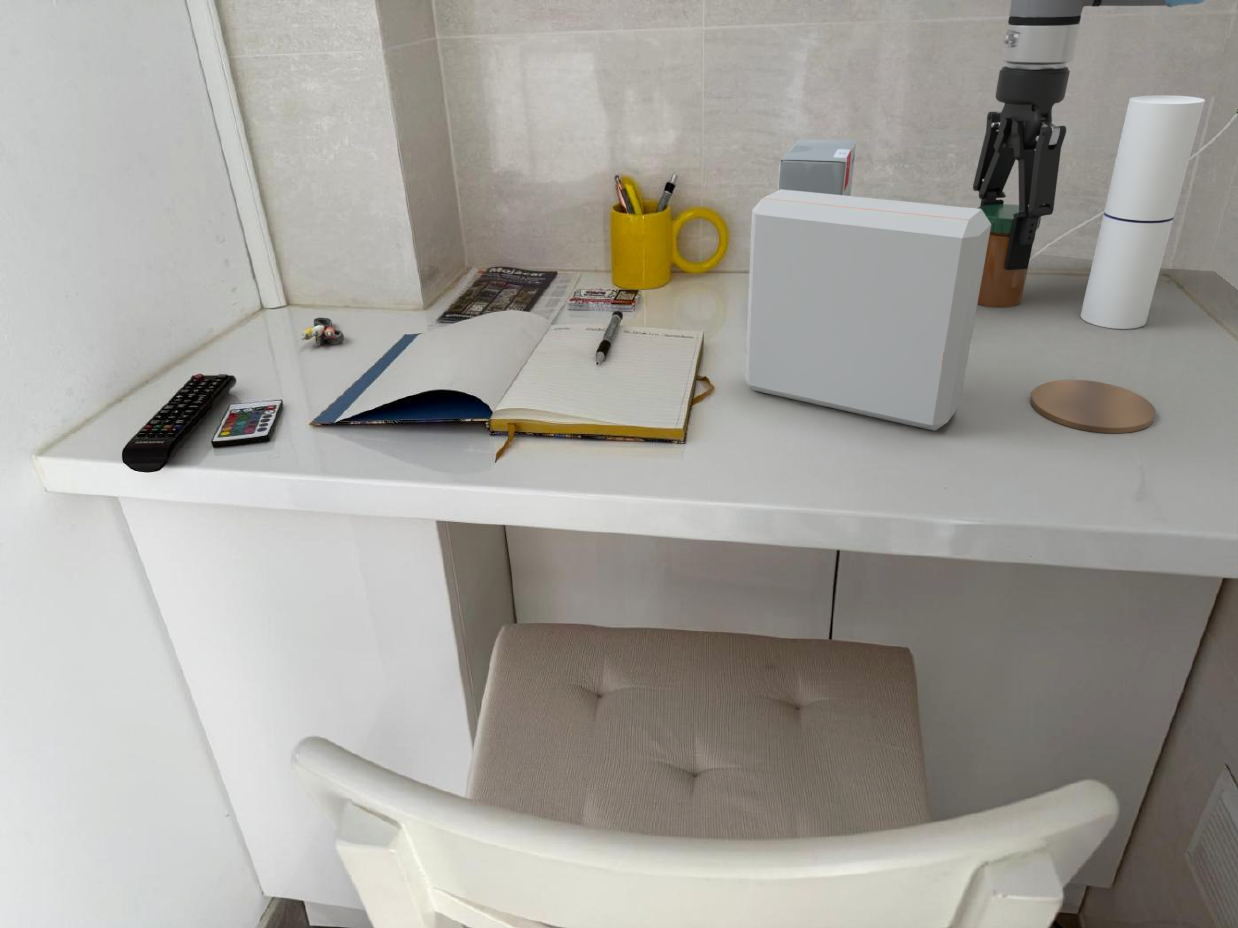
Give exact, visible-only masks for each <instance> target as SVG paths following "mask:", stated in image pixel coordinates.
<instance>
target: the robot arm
mask: <svg viewBox="0 0 1238 928" xmlns="http://www.w3.org/2000/svg"><path fill="white" fill-rule="evenodd" d="M1010 1H1011V2H1010V9H1009V15H1008V21H1007V29H1006V33H1005V35H1004V36H1003V39H1002V40H1003V43H1004V46H1003V51H1002V57H1001V60H1002V61H1003V63H1006V65H1005V66H1002V67H1001V69H1000V70H999V72H998V79H997V84H996V89H995V100H996V101H998V102H1000V103H1003V107H1002V110H1000V111H989V112H988V113H987V115H986V125H985V126H986V127H985V134H984V138H983V142H982V146H981V151H980V154H979V159H978V162H977V167H976V170H975V171H976V172H975V174H974V175H975V176H974V179H973V183H972V190H973V191H974V192H978V199H979V200H980V204H979V207H981V206H985V205H993V204H1005V203H1004V202H1005V200H1004V199H1005V198H1006V197H1007V195H1006V193H1005V192H1004V190H1005V186H1006V184H1007V181H1008V179H1009V177H1010V175H1011V173H1012V172H1011V171H1012V170H1013V167H1014V165H1015V162H1016V161H1017V162H1018V164H1017V165H1018V166H1017V169H1018V170H1017V173H1018V174H1017V175H1018V205H1019V213H1015V214H1013V216H1014V219H1013V224H1012V229H1011V234H1010V240H1009V245H1008V250H1007V256H1006V261H1005V266H1004V269H1006V270H1018V269H1028V270H1029V266H1030V260H1031V254H1032V250H1033V244H1034V242H1035V239H1036V234H1037V230H1038V229H1037V224H1038V220H1039V218H1040V217H1041V218H1042V217H1043V216H1044V217H1045V216H1051V215H1053V213H1054V207H1055V200H1056V192H1057V184H1058V175H1059V169H1060V160H1061V152H1062V146H1063V143H1064V141H1065V138H1066V134H1067V127H1066V126H1065V125H1056V124H1054V123H1053V113H1052V112H1053V106H1054V105H1056V104H1059V103H1061V102H1062V101H1063V100H1064V99H1065V98H1066V93H1067V87H1068V82H1069V77H1070V72H1071V71H1070V70H1069V67H1068V66H1067V64H1069V63H1070V62H1072V61H1073V60H1074V55H1075V49H1076V44H1077V39H1078V34H1079V29H1080V24H1081V19H1082V13H1083V9H1084V7H1093V8H1095V7H1098V8H1099V7H1164V6H1166V7H1167V8H1173V7H1177V6H1188V5H1191V6H1192V5H1199V4H1201V3H1203V2H1205V1H1206V0H1010ZM1036 229H1037V230H1036Z"/></svg>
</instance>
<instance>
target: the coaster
mask: <svg viewBox="0 0 1238 928" xmlns="http://www.w3.org/2000/svg"><path fill="white" fill-rule="evenodd" d="M1030 404H1031V406H1032V408H1033V409H1034V410H1035V411H1036V412H1037V413H1039V414H1040V415H1041V416H1042V417H1044V418H1046V419H1048V420H1050V421H1052V422H1055V423H1056V424H1060V425H1063V426H1066V427H1068V428H1073V429H1077V430H1081V431H1086V432H1094V433H1103V434H1125V433H1126V434H1127V433H1133V432H1138V431H1141V430H1144V429H1146V428H1148V427H1150V426H1151V425H1152V424H1153V422H1154V420H1155V418H1156V412H1157V411H1156V408H1155V406H1154V405H1153V403H1152V402H1150V401H1149V400H1148V399H1147V398H1146V397H1143V395H1140V394H1138V393H1137V392H1135V391H1132V390H1130V389H1127V388H1124V387H1122V386H1119V385H1114V384H1110V383H1107V382H1100V381H1094V380H1088V379H1087V380H1085V379H1059V380H1051V381H1047V382H1044V383H1041V384H1039V385H1037V386H1036V387H1035V388H1034V389H1033V390H1032V392H1031V394H1030Z"/></svg>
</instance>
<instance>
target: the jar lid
mask: <svg viewBox="0 0 1238 928" xmlns="http://www.w3.org/2000/svg"><path fill="white" fill-rule="evenodd" d="M976 209H982V211H983V212H984V214H985V215H986V217H987V218H988V220H989V222H990V223H991V229H990V232H997V233H1009V234H1011V229H1012V224H1013V219H1014V216H1013V214H1015V213H1019V204H1010V203H1003V204H993V205H985V206H981V207H980V206H979V207H976ZM1041 220H1042V216H1041V217H1040V218H1039V220H1038V224H1037V229H1036V231H1037V230H1038V229H1039V228H1040V226H1041Z"/></svg>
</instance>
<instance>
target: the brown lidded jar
mask: <svg viewBox="0 0 1238 928" xmlns="http://www.w3.org/2000/svg"><path fill="white" fill-rule="evenodd" d="M1009 240H1010V234H1009V233H997V232H990V234H989V240H988V246H987V252H986V257H985V263H984V269H983V274H982V280H981V286H980V291H979V297H978V303H977V305H979V306H985V307H990V308H991V307H992V308H1008V307H1009V308H1010V307H1014V306H1017V305H1019V304H1021V303H1022V301H1023V296H1024V290H1025V284H1026V281H1027V275H1028V270H1029V268H1028V269H1018V270H1006V269H1004V266H1005V261H1006V256H1007V250H1008V245H1009Z"/></svg>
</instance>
